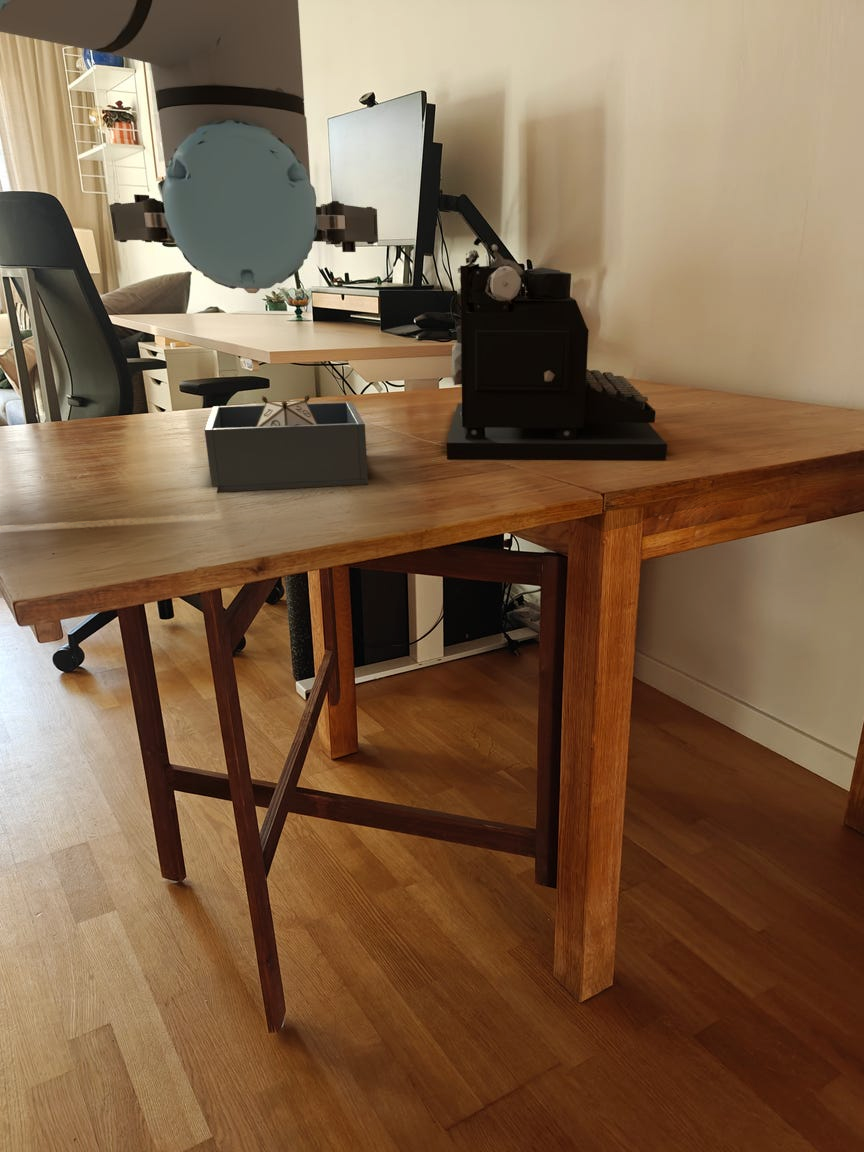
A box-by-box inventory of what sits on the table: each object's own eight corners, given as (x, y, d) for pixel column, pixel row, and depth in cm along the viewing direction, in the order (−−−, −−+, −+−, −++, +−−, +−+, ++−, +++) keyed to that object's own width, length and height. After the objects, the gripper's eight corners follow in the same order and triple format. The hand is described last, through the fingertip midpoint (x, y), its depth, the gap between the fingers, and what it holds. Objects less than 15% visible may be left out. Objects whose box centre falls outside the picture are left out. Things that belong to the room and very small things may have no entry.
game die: (304, 494, 103) (344, 421, 104) (301, 485, 95) (344, 406, 95) (236, 457, 102) (276, 383, 102) (226, 445, 93) (270, 364, 94)
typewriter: (665, 460, 107) (686, 237, 96) (446, 458, 107) (444, 236, 97) (630, 417, 135) (643, 241, 125) (457, 416, 135) (456, 240, 125)
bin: (212, 492, 92) (204, 429, 89) (219, 461, 106) (212, 406, 103) (368, 484, 95) (364, 423, 93) (355, 455, 109) (352, 401, 106)
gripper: (49, 281, 55) (104, 273, 74) (436, 281, 60) (394, 273, 79) (25, 146, 52) (88, 173, 70) (434, 158, 57) (391, 181, 76)
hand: (250, 226), depth 75 cm, fingers open, 13 cm apart
